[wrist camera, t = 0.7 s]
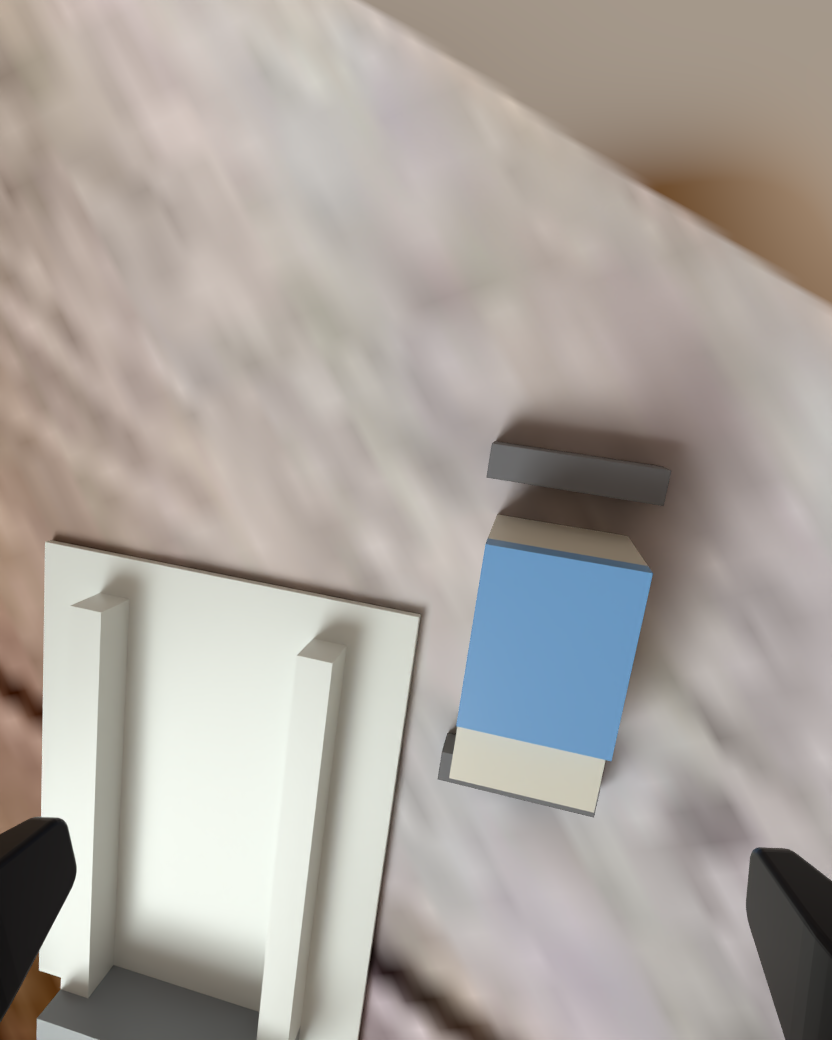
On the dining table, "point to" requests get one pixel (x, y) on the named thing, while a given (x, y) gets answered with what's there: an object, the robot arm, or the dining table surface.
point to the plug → (549, 660)
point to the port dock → (215, 799)
